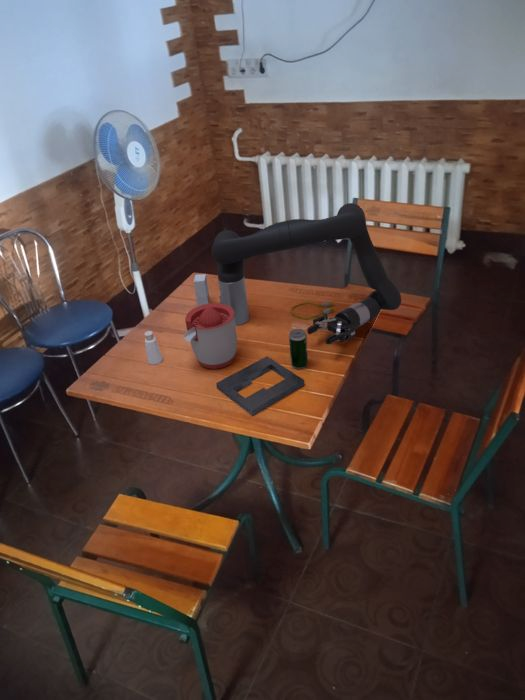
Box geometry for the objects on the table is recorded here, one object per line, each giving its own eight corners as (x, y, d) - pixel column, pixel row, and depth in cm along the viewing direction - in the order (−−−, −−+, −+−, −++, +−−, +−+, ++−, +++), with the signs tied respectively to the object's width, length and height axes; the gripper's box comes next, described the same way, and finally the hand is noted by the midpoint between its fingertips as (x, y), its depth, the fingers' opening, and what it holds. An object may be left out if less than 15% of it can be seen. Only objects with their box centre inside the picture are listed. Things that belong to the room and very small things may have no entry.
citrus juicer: (180, 361, 186) (169, 309, 175) (223, 340, 194) (215, 289, 183) (205, 382, 175) (195, 328, 164) (250, 359, 183) (243, 306, 172)
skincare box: (209, 309, 213) (204, 280, 207) (198, 309, 214) (193, 281, 207) (210, 301, 218) (206, 273, 212) (199, 302, 219) (195, 274, 212)
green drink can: (293, 371, 175) (291, 339, 169) (289, 361, 180) (286, 330, 173) (310, 367, 176) (308, 335, 169) (305, 358, 181) (303, 327, 174)
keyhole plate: (267, 361, 181) (266, 356, 180) (304, 385, 169) (304, 379, 168) (217, 388, 172) (216, 383, 171) (252, 415, 160) (251, 410, 158)
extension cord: (329, 323, 198) (329, 318, 197) (287, 318, 203) (286, 314, 202) (337, 305, 207) (337, 301, 206) (296, 302, 212) (296, 297, 211)
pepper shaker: (157, 353, 191) (150, 326, 185) (166, 359, 188) (160, 331, 181) (144, 361, 188) (136, 333, 182) (153, 367, 185) (146, 339, 178)
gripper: (337, 300, 189) (301, 318, 181) (369, 315, 179) (332, 335, 171) (337, 319, 193) (302, 338, 185) (368, 334, 183) (333, 355, 175)
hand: (317, 336), depth 178 cm, fingers open, 8 cm apart
